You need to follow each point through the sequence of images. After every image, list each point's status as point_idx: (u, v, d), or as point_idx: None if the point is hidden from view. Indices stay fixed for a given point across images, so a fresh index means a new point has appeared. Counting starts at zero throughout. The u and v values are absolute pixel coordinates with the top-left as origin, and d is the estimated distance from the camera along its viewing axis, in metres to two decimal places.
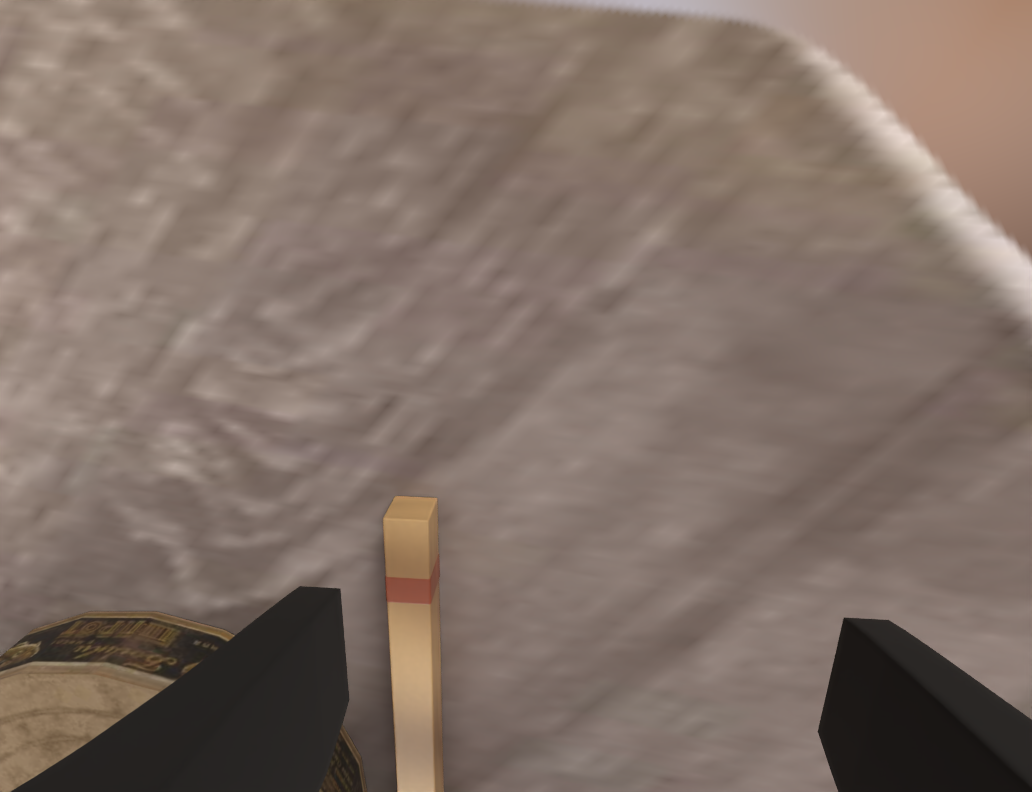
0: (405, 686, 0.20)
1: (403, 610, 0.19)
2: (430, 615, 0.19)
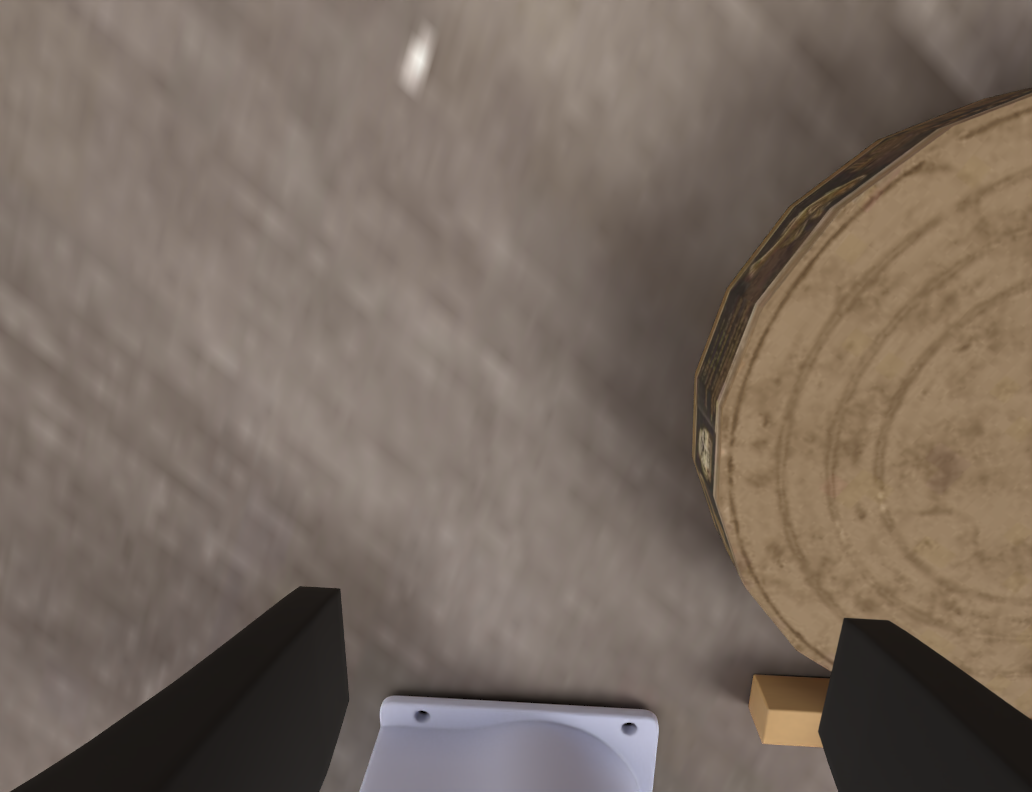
0: None
1: None
2: None
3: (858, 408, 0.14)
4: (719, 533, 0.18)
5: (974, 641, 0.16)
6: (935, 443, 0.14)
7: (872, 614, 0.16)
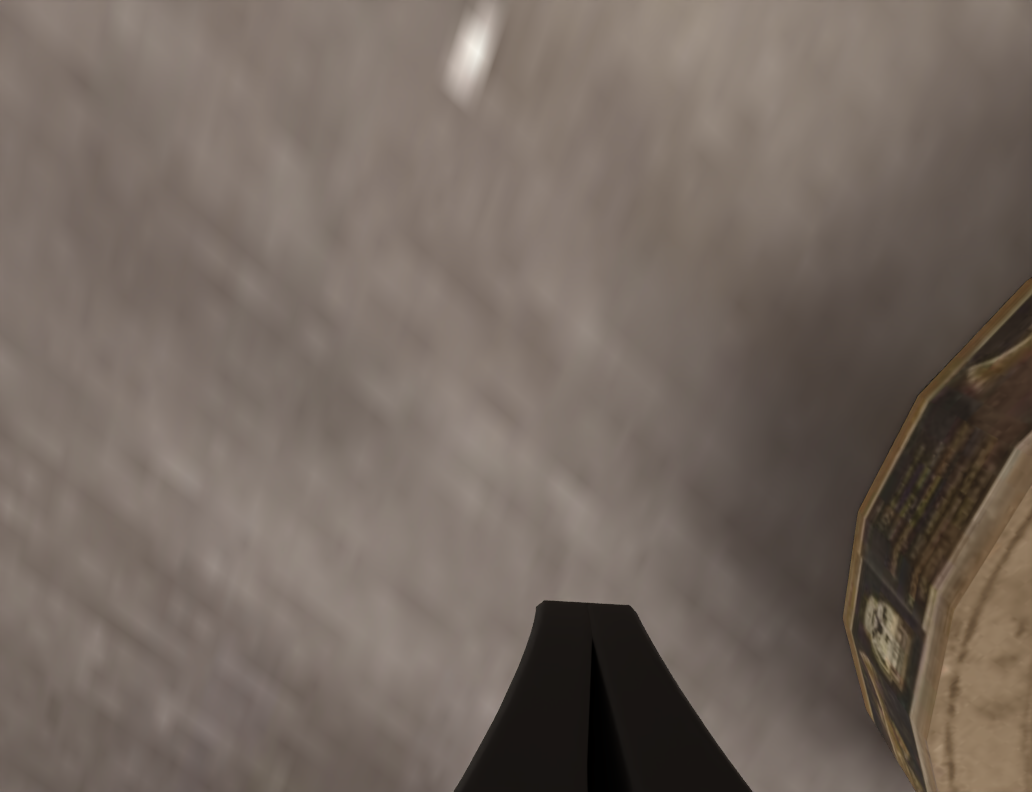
0: None
1: None
2: None
3: None
4: (880, 728, 0.13)
5: None
6: None
7: None
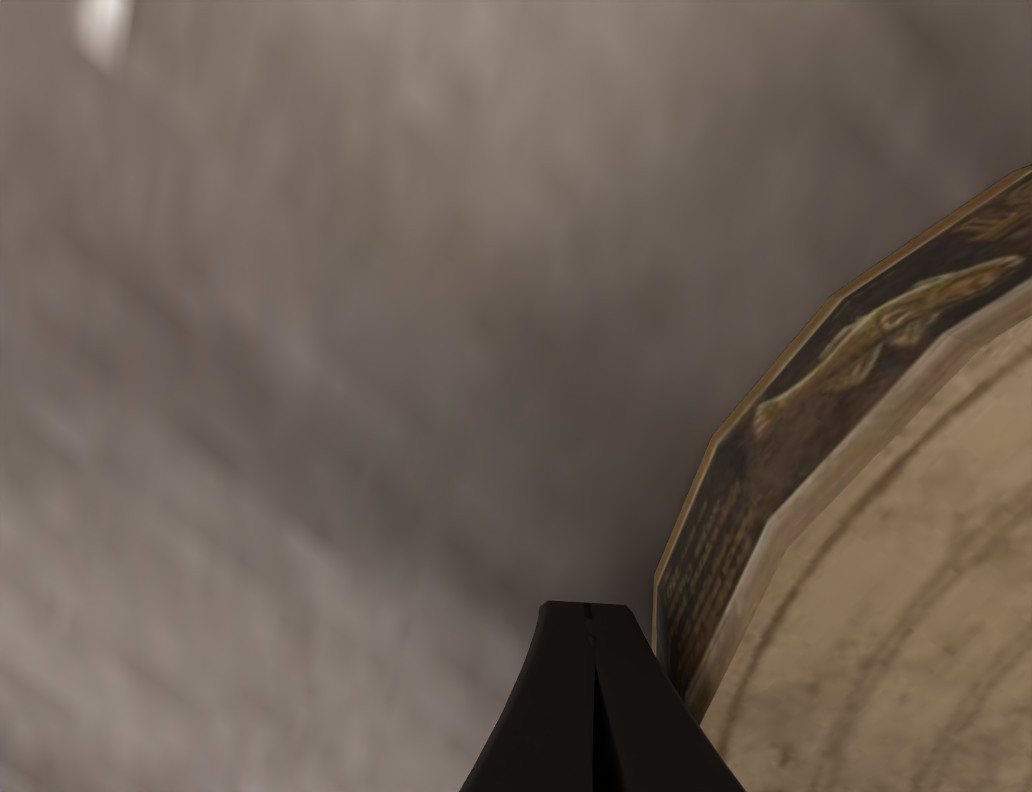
0: None
1: None
2: None
3: (982, 743, 0.07)
4: None
5: None
6: None
7: None
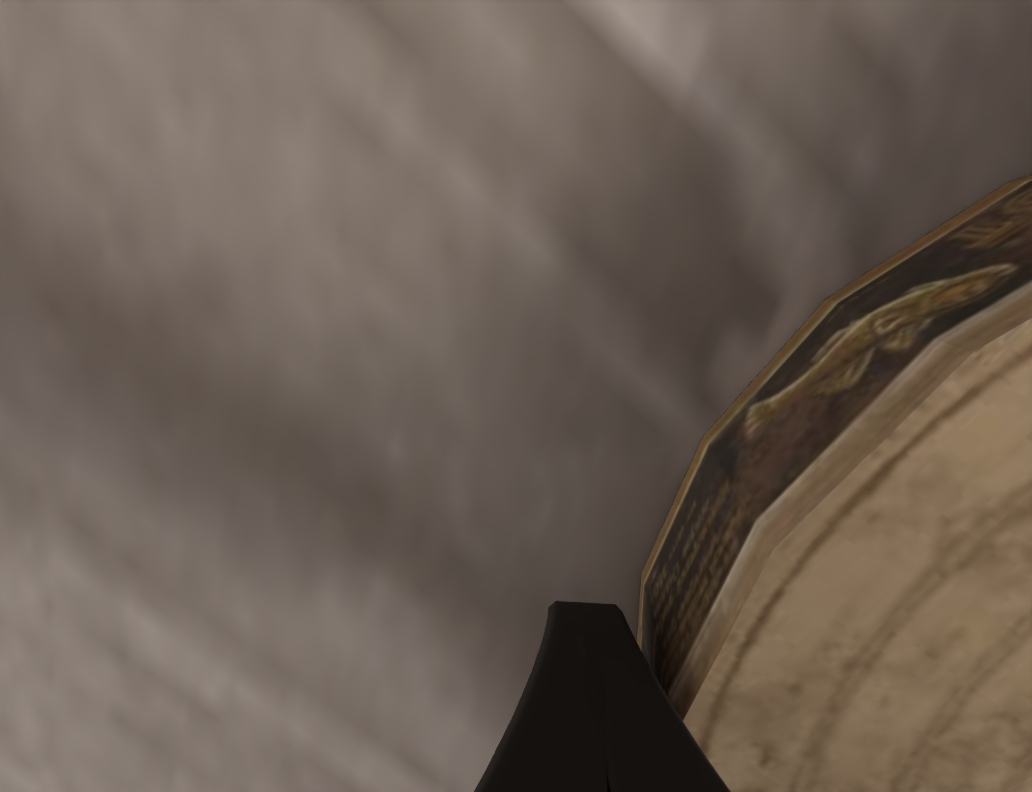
0: None
1: None
2: None
3: (960, 746, 0.07)
4: None
5: None
6: None
7: None
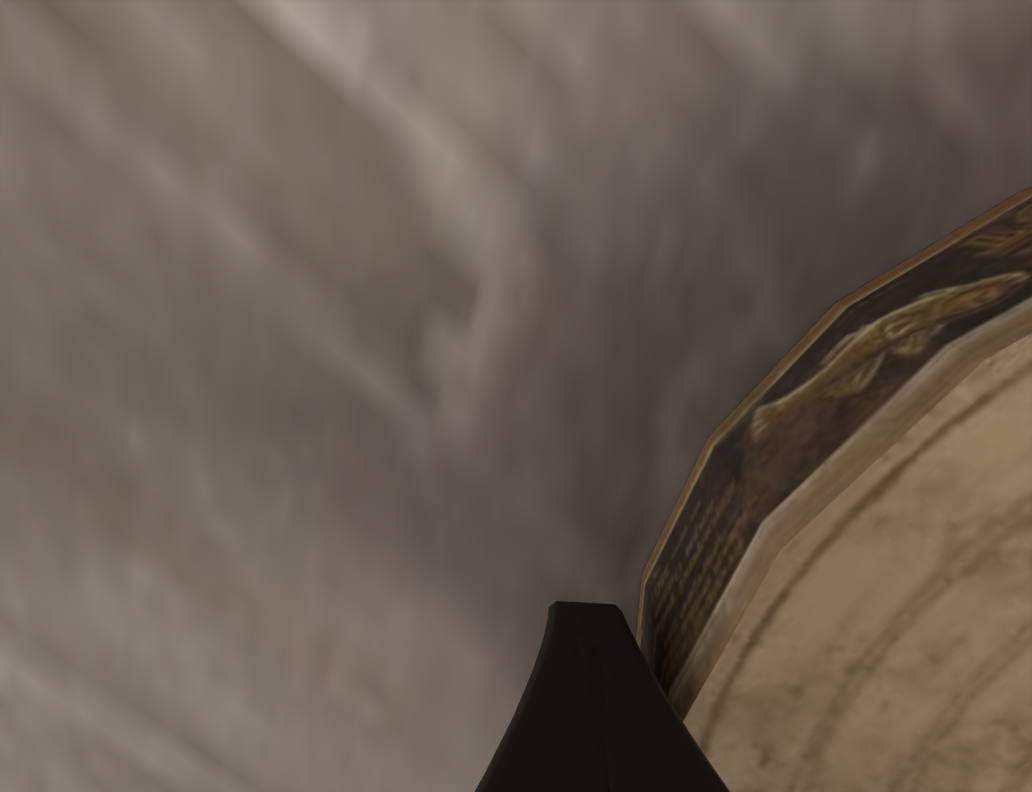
0: None
1: None
2: None
3: (959, 754, 0.07)
4: None
5: None
6: None
7: None
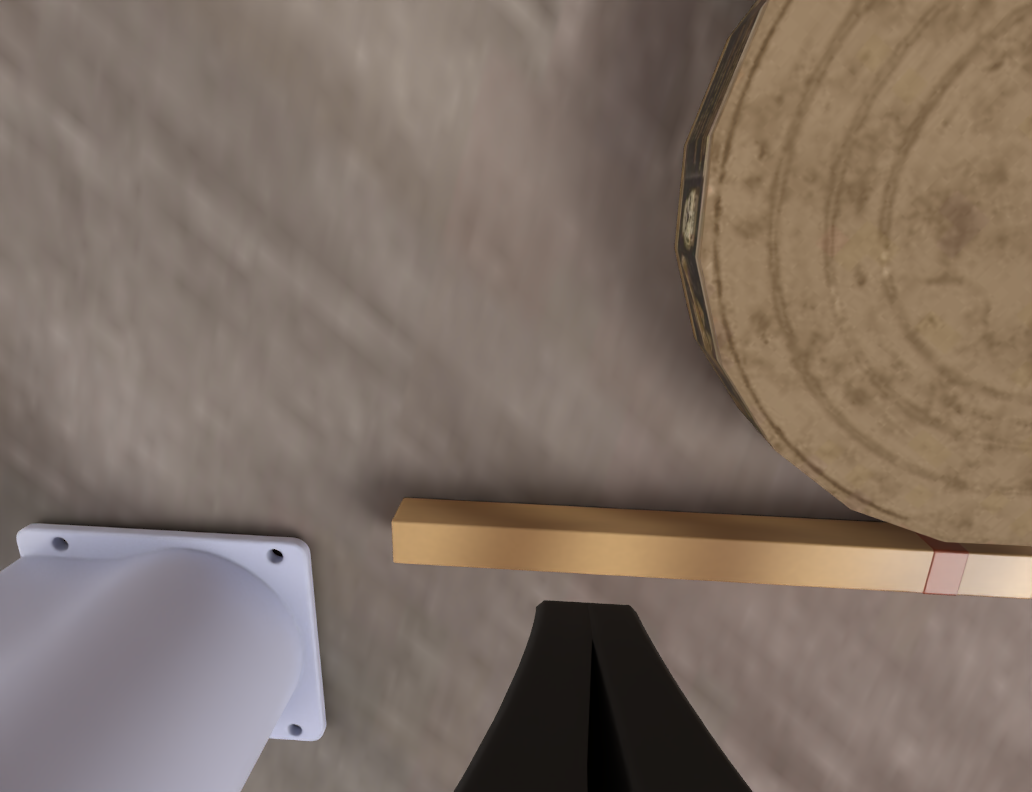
0: (808, 559, 0.17)
1: (919, 566, 0.17)
2: (906, 591, 0.17)
3: (868, 139, 0.12)
4: (698, 336, 0.16)
5: (972, 447, 0.14)
6: (952, 191, 0.12)
7: (863, 408, 0.14)
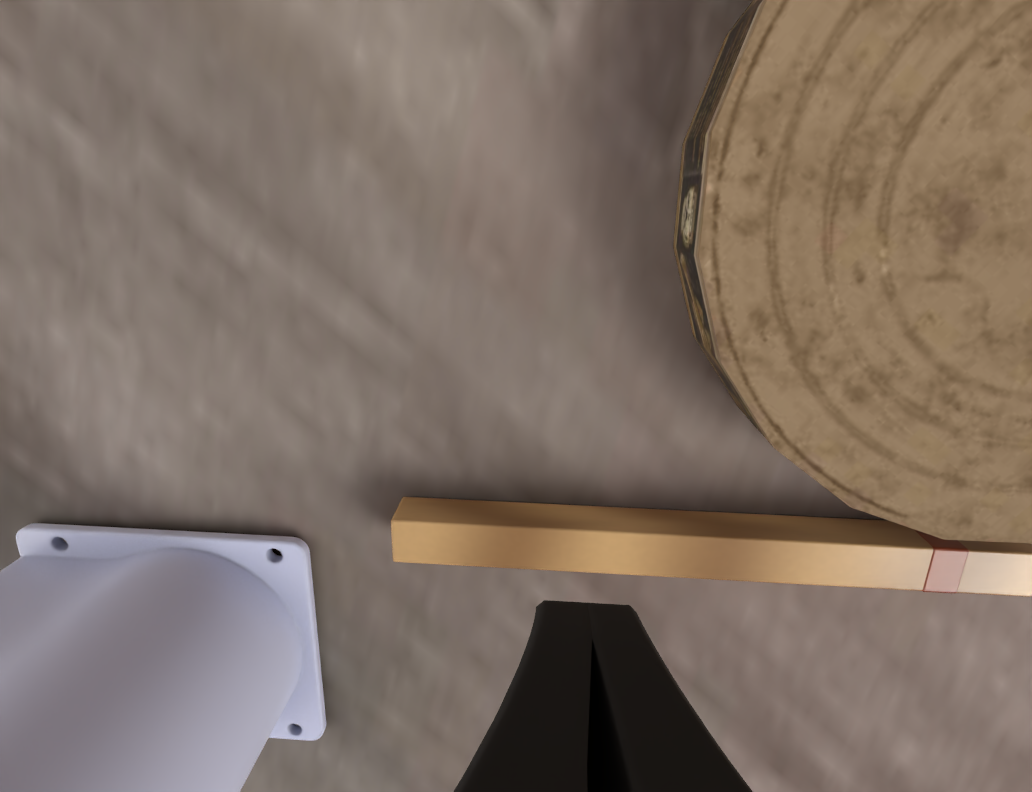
0: (808, 557, 0.17)
1: (919, 564, 0.17)
2: (905, 589, 0.17)
3: (867, 136, 0.12)
4: (697, 334, 0.16)
5: (971, 444, 0.14)
6: (950, 188, 0.12)
7: (862, 406, 0.14)
